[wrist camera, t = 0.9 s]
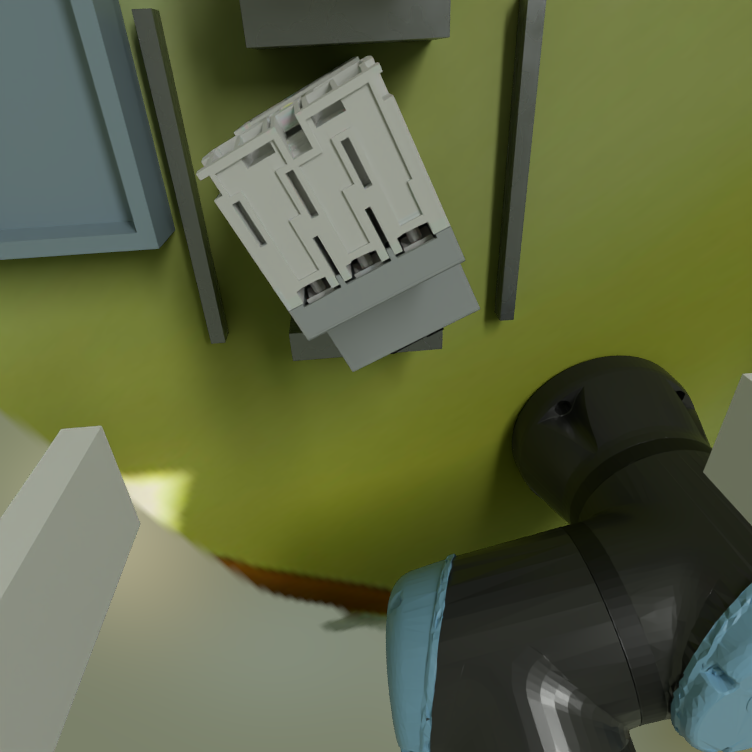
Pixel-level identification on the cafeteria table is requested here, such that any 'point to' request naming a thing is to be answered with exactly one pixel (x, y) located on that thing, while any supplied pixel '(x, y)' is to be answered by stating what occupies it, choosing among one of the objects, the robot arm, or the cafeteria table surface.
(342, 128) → the circuit breaker
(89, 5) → the tray
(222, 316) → the grey blocks
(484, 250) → the cafeteria table surface
